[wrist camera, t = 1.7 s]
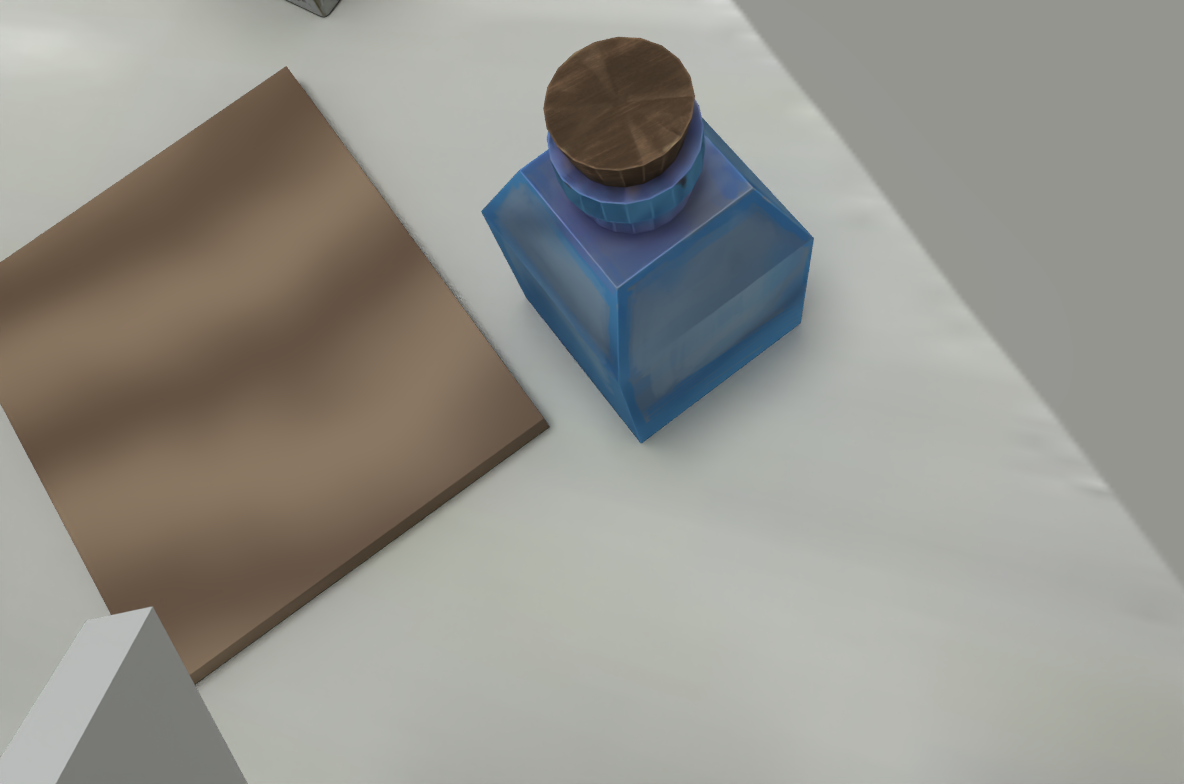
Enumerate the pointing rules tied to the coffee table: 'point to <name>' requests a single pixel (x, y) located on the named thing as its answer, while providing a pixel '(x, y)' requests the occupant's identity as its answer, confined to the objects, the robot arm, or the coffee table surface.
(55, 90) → the coffee table surface
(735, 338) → the perfume bottle
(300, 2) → the coffee box
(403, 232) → the walnut board
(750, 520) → the coffee table surface
